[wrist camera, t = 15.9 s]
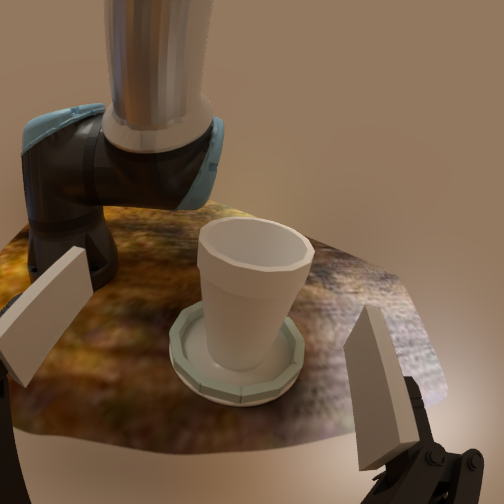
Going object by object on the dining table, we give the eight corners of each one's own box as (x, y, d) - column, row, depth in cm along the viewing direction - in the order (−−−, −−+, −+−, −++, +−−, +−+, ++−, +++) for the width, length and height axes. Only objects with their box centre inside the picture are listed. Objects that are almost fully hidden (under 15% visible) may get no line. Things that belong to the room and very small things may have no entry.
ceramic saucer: (163, 312, 33) (162, 299, 32) (272, 303, 38) (275, 291, 37) (181, 417, 21) (180, 406, 20) (322, 388, 26) (329, 376, 25)
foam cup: (241, 309, 35) (258, 211, 29) (297, 354, 29) (334, 250, 23) (176, 339, 28) (176, 228, 22) (232, 399, 23) (255, 287, 17)
